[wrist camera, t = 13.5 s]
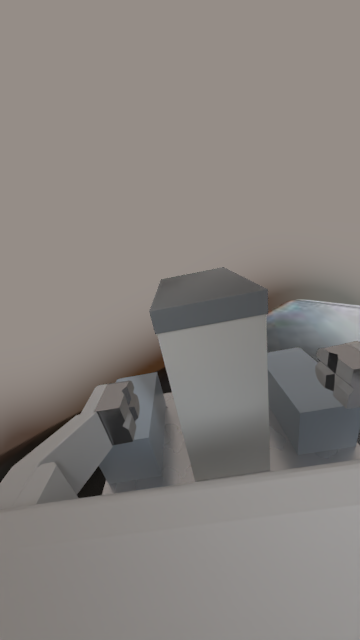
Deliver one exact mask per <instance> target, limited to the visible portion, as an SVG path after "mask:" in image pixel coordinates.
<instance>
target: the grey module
mask: <svg viewBox="0 0 360 640" xmlns="http://www.w3.org/2000/svg"><path fill="white" fill-rule="evenodd" d="M266 314H268V290H267V289H266V288H264V287H262V286H260V285H258V284H256V283H254V282H252V281H250V280H248V279H246V278H244V277H242V276H240V275H238V274H236V273H234V272H232V271H230V270H228V269H226V268H224V267H222V268H217V269H212V270H207V271H203V272H197V273H192V274H187V275H182V276H176V277H171V278H166V279H161V281H160V284H159V287H158V289H157V292H156V295H155V298H154V300H153V303H152V306H151V309H150V316H151V319H152V323H153V327H154V330H155V334H157V336H158V340H159V344H160V348H161V352H162V356H163V360H164V363H165V367H166V371H167V375H168V379H169V383H170V387H171V391H172V394H173V398H174V402H175V406H176V410H177V414H178V417H179V421H180V425H181V429H182V433H183V437H184V441H185V444H186V448H187V452H188V456H189V460H190V464H191V468H192V471H193V475H194V479H195V481H198V480H205V479H212V478H218V477H225V476H232V475H239V474H245V473H252V472H259V471H266V470H270V444H269V404H268V364H267V323H266Z"/></svg>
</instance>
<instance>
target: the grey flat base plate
mask: <svg viewBox="0 0 360 640" xmlns="http://www.w3.org/2000/svg"><path fill="white" fill-rule="evenodd" d="M163 395H164V398H165V402H166V410H165V430H164V449H163V469H162V476H158V477H151V478H144V479H138V480H131V481H125V482H118V483H112V484H108V482H107V480H106V482H105V486H104V489H103V493H102V495H106V494H114V493H121V492H128V491H135V490H142V489H149V488H156V487H164V486H171V485H178V484H185V483H192V482H199V481H207V480H214V479H221V478H228V477H235V476H243V475H250V474H257V473H264V472H271V471H279V470H286V469H293V468H300V467H307V466H315V465H322V464H329V463H336V462H343V461H350V460H357V459H360V445H359V444H358V442H357V444H356V446H354V447H347V448H340V449H334V450H327V451H321V452H314V453H308V454H301V455H298V454H297V453H296V451H295V449H294V448H293V446H292V444H291V442H290V441H289V439H288V437H287V436H286V434H285V432H284V430H283V429H282V427H281V425H280V424H279V422H278V420H277V418H276V417H275V415H274V413H273V412H272V410H271V408H270V407H269V444H270V470H266V471H259V472H252V473H245V474H239V475H232V476H225V477H218V478H212V479H205V480H198V481H195V479H194V475H193V471H192V468H191V464H190V460H189V456H188V452H187V448H186V444H185V441H184V437H183V433H182V429H181V425H180V421H179V417H178V414H177V410H176V406H175V402H174V398H173V394H172V392H171V393H165V394H163Z"/></svg>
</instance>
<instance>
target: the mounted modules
mask: <svg viewBox="0 0 360 640" xmlns="http://www.w3.org/2000/svg"><path fill="white" fill-rule="evenodd" d="M317 363H318V362H316V361H315V360H314V359H313V358H312V357H310V356H309V355H308V354H307V353H306V352H304V351H303V350H302V349H301V348H300V347H296V348H291V349H285V350H279V351H274V352H268V353H267V364H268V404H269V407H270V408H271V410H272V412H273V413H274V415H275V417H276V418H277V420H278V422H279V424H280V425H281V427H282V429H283V430H284V432H285V434H286V436H287V437H288V439H289V441H290V442H291V444H292V446H293V448H294V449H295V451H296V453H297V454H298V455H301V454H308V453H314V452H321V451H327V450H334V449H340V448H347V447H354V446H356V444H357V440H358V435H359V430H360V407H358V408H350V409H346V408H345V407H344V406H343V405H342V404H341V403H340V402H339V401H338V400H337V399H336V398H335V397H334V396H333V391H331V390H329V389H326V388H325V387H324V386H323V385H322V384H321V383H320V382H319V380H318V379H317V376H316V373H315V369H316V365H317ZM123 381H132V383H133V385H134V391H133V393H134V394H136V395H137V396H138V399H139V405H140V412H139V417H138V419H137V420H136V421H135V424H136V431H135V436H134V440H133V442H128V443H123V444H118V445H112V446H113V447H112V448H111V450H110V451H109V452H108V454H107V455H106V456H105V458H104V459H103V460H102V462H101V463H100V464H99V467H100V469H101V471H102V473H103V474H104V476H105V478H106V480H107V482H108V484H112V483H118V482H125V481H131V480H138V479H144V478H151V477H158V476H162V469H163V449H164V430H165V410H166V402H165V398H164V395H163V391H162V388H161V384H160V381H159V377H158V374H157V372H155V373H149V374H143V375H138V376H132V377H126V378H121V379H117V381H116V382H123Z"/></svg>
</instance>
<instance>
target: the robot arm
mask: <svg viewBox="0 0 360 640" xmlns="http://www.w3.org/2000/svg"><path fill="white" fill-rule="evenodd" d="M316 357H317V358H318V360H319V362H318V363H317V365H316V369H315V373H316V376H317V379H318V380H319V382H320V383H321V384H322V385H323V386H324V387H325V388H326V389H329V390H331V391H333V396H334V397H335V398H336V399H337V400H338V401H339V402H340V403H341V404H342V405H343V406H344V407H345V408H346V409H350V408H358V407H360V342H358V341H355V342H350V343H345V344H342V345H336V346H331V347H325V348H319V349H318V351H317V356H316ZM133 391H134V385H133V383H132V381H123V382H116V383H110V384H103V385H98V386H97V387H95V389H94V391H93V392H92V394H91V396H90V398H89V400H88V401H87V403H86V405H85V407H84V409H83V410H82V412H81V414H80V415H76V416H75V417H74V418H72V419H71V420H70V421H69V422H67V423H66V424H65V425H64V426H62V427H61V428H60V429H59V430H57V431H56V432H55V433H54V434H52V435H51V436H50V437H49V438H48V439H46V440H45V441H44V442H43V443H41V444H40V445H39V446H38V447H36V448H35V449H34V450H33V451H31V452H30V453H29V454H28V455H26V456H25V457H24V458H23V459H21V460H20V461H19V462H18V463H16V464H15V465H14V466H13V467H12V468H11V469H10V470H9V472H8V473H7V475H6V476H5V477H4V479H3V480H2V481H1V483H0V640H360V459H357V460H350V461H343V462H336V463H329V464H322V465H315V466H307V467H300V468H293V469H286V470H279V471H271V472H264V473H257V474H250V475H243V476H235V477H228V478H221V479H214V480H207V481H199V482H192V483H185V484H178V485H171V486H164V487H156V488H149V489H142V490H135V491H128V492H121V493H114V494H106V495H99V496H92V497H85V498H78V496H77V494H78V493H79V491H80V490H81V489H82V487H83V486H84V485H85V483H86V482H87V481H88V479H89V478H90V477H91V475H92V474H93V473H94V471H95V470H96V468H97V467H98V466H99V464H100V463H101V462H102V460H103V459H104V458H105V456H106V455H107V454H108V452H109V451H110V450H111V448H112V447H113V446H112V445H118V444H123V443H128V442H133V440H134V436H135V431H136V424H135V421H136V420H137V419H138V417H139V412H140V405H139V399H138V396H137V395H136V394H134V393H133Z"/></svg>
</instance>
